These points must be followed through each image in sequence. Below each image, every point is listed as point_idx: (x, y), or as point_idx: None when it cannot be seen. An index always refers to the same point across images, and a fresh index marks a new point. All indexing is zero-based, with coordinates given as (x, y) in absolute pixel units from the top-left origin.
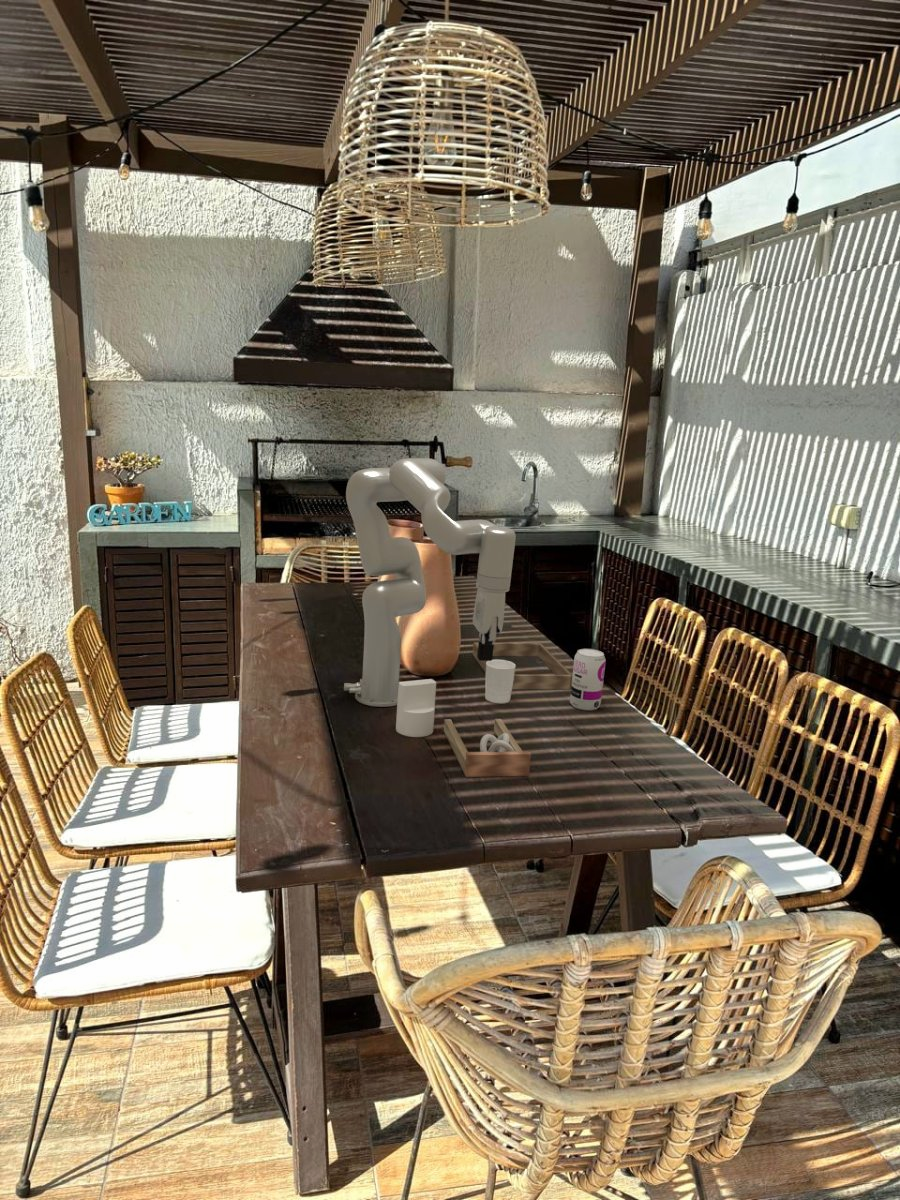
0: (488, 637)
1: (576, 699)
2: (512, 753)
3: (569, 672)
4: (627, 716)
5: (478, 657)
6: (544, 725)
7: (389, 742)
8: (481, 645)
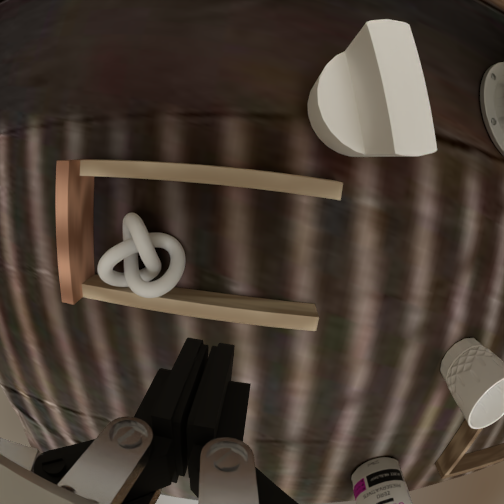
0: (29, 469)
1: (372, 470)
2: (62, 265)
3: (455, 474)
4: (316, 497)
5: (192, 344)
6: (317, 404)
7: (281, 32)
8: (157, 413)
